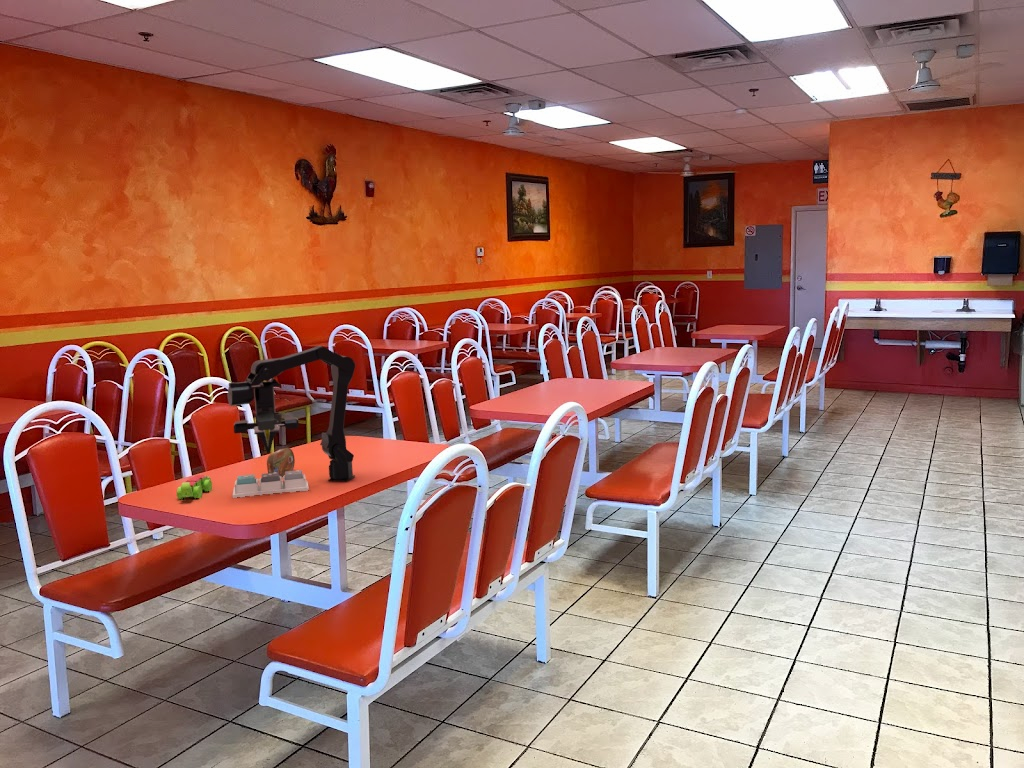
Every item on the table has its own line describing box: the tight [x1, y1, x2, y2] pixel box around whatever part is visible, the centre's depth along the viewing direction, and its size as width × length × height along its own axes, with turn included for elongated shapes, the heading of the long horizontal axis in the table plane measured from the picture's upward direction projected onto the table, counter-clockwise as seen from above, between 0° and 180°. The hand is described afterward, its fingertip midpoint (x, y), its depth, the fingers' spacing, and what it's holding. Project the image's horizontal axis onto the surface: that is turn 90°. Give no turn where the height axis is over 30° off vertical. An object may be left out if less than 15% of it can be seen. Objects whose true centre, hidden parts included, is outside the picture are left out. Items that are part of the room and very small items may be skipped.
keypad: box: [232, 473, 310, 499], centre depth 256 cm, size 22×9×4 cm, turn 106°
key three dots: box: [261, 472, 279, 482], centre depth 256 cm, size 5×5×3 cm
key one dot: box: [236, 473, 256, 485], centre depth 254 cm, size 5×5×3 cm
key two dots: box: [285, 469, 303, 480], centre depth 258 cm, size 5×5×3 cm
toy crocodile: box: [176, 474, 213, 500], centre depth 254 cm, size 20×7×6 cm, turn 0°
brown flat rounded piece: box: [266, 447, 296, 478], centre depth 276 cm, size 15×3×8 cm, turn 168°
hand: (268, 452), depth 255 cm, fingers closed
